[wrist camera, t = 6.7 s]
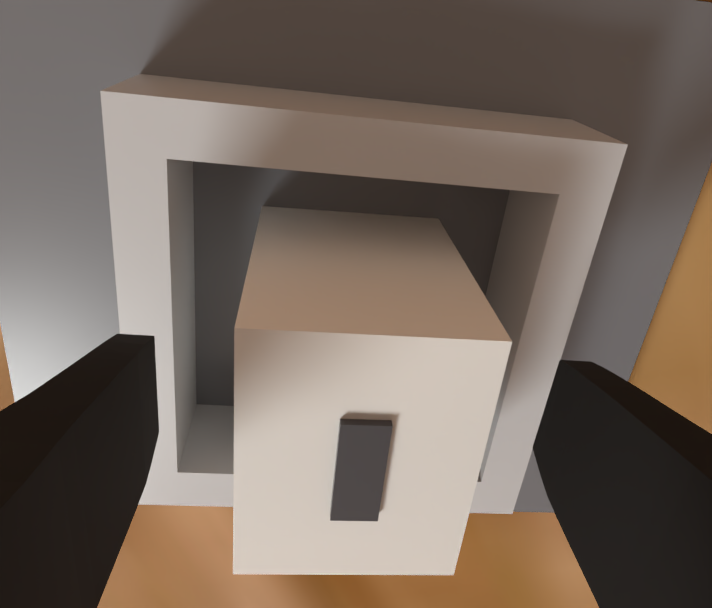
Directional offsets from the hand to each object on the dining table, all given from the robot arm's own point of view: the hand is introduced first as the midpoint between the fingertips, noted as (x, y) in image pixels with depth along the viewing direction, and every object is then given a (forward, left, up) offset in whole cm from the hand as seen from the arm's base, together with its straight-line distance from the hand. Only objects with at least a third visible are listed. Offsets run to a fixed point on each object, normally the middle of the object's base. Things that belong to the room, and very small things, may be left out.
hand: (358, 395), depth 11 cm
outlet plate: (0, 0, -5) cm, 5 cm away
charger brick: (0, 0, -4) cm, 4 cm away
